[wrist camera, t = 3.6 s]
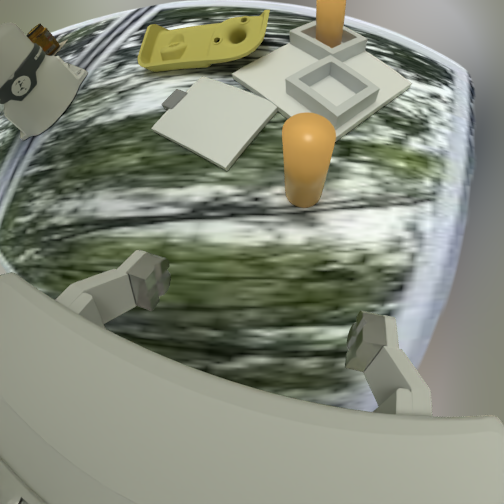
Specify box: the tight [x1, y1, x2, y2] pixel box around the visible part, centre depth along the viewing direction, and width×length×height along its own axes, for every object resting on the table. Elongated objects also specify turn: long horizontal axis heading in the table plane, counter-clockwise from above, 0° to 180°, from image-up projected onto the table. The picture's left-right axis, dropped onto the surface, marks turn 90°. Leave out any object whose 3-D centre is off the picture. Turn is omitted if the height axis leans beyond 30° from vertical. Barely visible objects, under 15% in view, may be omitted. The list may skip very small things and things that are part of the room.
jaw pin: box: [282, 112, 336, 208], centre depth 21 cm, size 4×4×10 cm
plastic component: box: [138, 10, 270, 72], centre depth 31 cm, size 20×7×10 cm
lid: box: [151, 76, 278, 171], centre depth 29 cm, size 14×10×1 cm
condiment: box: [27, 24, 67, 56], centre depth 39 cm, size 7×8×12 cm
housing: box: [232, 0, 412, 142], centre depth 24 cm, size 16×18×11 cm
